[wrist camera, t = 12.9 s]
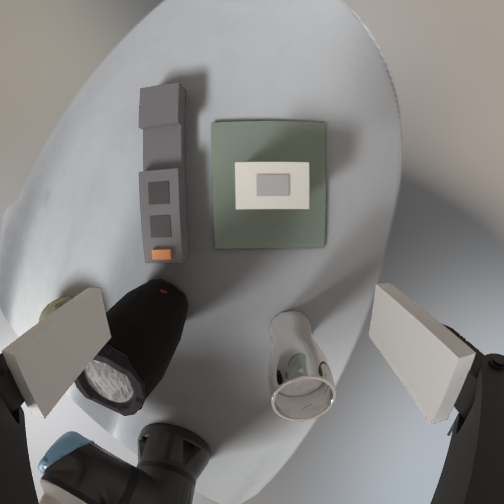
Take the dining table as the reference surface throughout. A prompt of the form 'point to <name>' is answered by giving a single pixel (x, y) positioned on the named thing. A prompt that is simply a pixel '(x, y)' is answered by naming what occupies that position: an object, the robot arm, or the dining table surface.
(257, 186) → the block
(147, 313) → the portable speaker
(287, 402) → the beer glass
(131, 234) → the dining table surface
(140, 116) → the power strip
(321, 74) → the dining table surface
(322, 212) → the mat
